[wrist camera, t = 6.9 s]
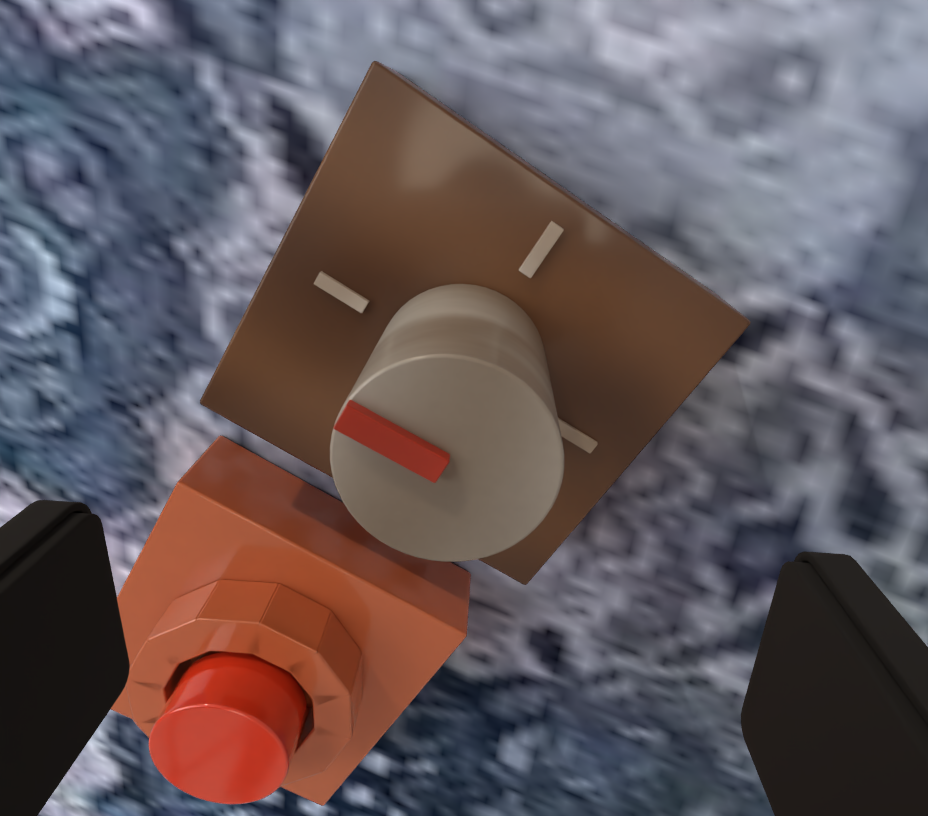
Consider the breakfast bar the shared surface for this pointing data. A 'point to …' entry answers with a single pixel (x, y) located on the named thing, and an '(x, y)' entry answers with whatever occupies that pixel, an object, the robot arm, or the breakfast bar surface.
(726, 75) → the breakfast bar surface
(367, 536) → the button base
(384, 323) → the base
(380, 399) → the dial
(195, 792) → the red button
